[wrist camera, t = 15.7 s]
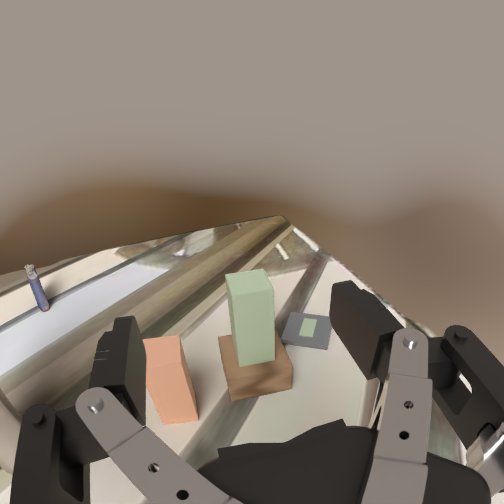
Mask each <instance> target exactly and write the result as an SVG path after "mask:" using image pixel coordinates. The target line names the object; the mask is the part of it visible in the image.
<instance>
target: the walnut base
mask: <svg viewBox="0 0 504 504" xmlns="http://www.w3.org/2000/svg"><path fill="white" fill-rule="evenodd" d="M274 331H275V360H272V361H268V362H263V363H258V364H253V365H248V366H242V367H239V363H238V360H237V356H236V352H235V349H234V345H233V339H232V335H227V336H221V337H218V340H219V347H220V353H221V359H222V364H223V368H224V373H225V377H226V381H227V386H228V390H229V394H230V399H231V401H236V400H241V399H247V398H252V397H257V396H262V395H266V394H271V393H275V392H280V391H284V390H288V389H292V371H293V366H292V364H291V362H290V359H289V357H288V355H287V353H286V350H285V348H284V346H283V344H282V342H281V339H280V337H279V335H278V333H277V331H276V328H275V327H274Z"/></svg>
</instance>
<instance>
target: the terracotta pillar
mask: <svg viewBox="0 0 504 504" xmlns="http://www.w3.org/2000/svg"><path fill="white" fill-rule="evenodd" d="M143 343H144V346H145V350H146V358H147V362H146V386H147V389H148V391H149V393H150V396H151V398H152V400H153V402H154V405H155V407H156V409H157V411H158V413H159V416H160V418H161V420H162V422H163V424H173V423H182V422H190V421H197V420H199V419H198V412H197V405H196V397H195V392H194V389H193V385H192V382H191V378H190V374H189V371H188V367H187V363H186V360H185V356H184V352H183V348H182V344H181V340H180V336H179V335H174V336H166V337H159V338H151V339H143Z"/></svg>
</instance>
